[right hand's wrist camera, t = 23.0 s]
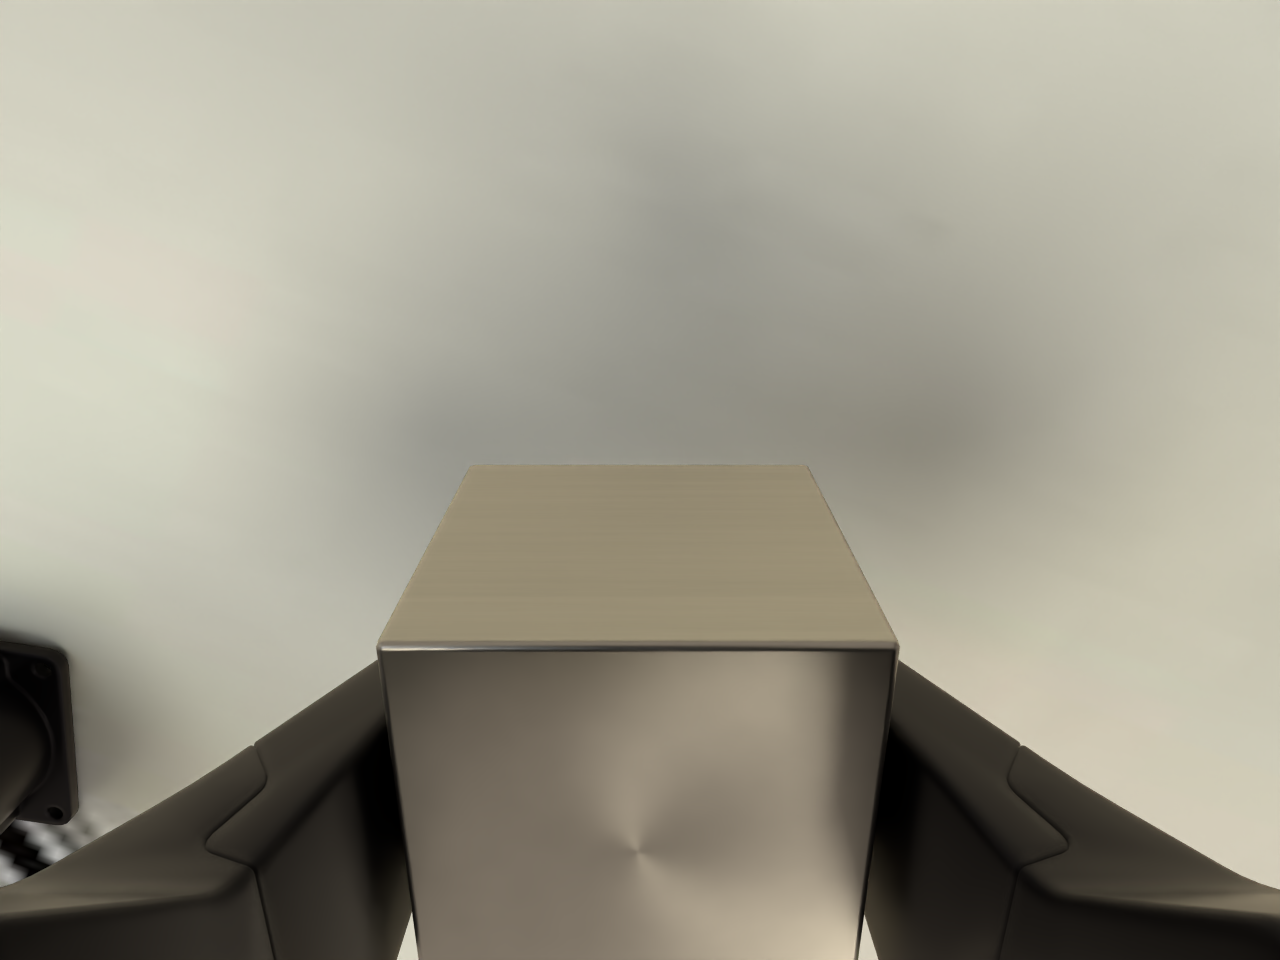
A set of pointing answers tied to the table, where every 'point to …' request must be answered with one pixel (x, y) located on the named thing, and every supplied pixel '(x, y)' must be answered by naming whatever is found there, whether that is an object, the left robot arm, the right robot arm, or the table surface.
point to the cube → (638, 718)
